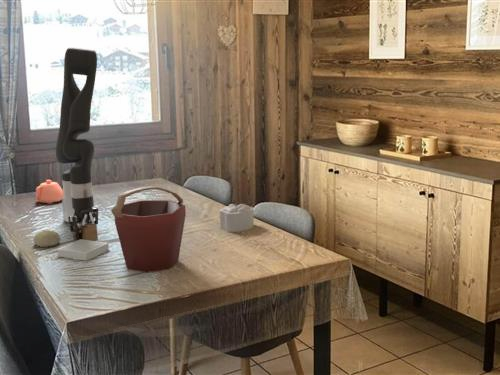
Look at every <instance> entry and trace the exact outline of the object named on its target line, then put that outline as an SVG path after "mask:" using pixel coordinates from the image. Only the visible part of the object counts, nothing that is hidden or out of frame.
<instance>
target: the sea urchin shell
mask: <svg viewBox="0 0 500 375" xmlns="http://www.w3.org/2000/svg"><path fill="white" fill-rule="evenodd" d="M32 239H33V244H34V245H36V246H37V247H39V246H40V247H39V248H49V247H55V246H56V245H58V244H59V243H60V241H61V237H60V235H59V233H58V232H57V231H56V230H55V231H54V230H50V229H45V230H42V231H39V232H38V233H36V234H35V235H34V236H33V238H32ZM48 246H49V247H48Z"/></svg>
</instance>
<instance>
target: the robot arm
mask: <svg viewBox="0 0 500 375" xmlns="http://www.w3.org/2000/svg"><path fill="white" fill-rule="evenodd" d="M63 62H64V63H63V88H62V89H63V90H62V96H61V97H62V98H61V103H60V115H59V116H60V117H59V118H60V119H59V127H58V133H57V134H58V135H57V140H56V146H55V157H56V160H57V162H58V163H59V164H74V165H73V166H72V167H70V168H68V169H67V170H65V171H64V172H62V174H61V180H62V182H61V183H62V190H63V193H64V197H63V198H62V200H61V203H62V215H63V221H65V222H66V223H69V230H70V232H71V233H73V232H75V233H76V241H77V240H80V239H83V238H82V228H83V227H84V224H85V223H87V224H88V223H90V224H97V225H98V224H99V208H95V203H94V191H93V184H92V174H91V173H92V171H91V170H92V162H93V158H94V153H95V146H94V143H93V141H92V140H90V139H88V138H87V139H85V138H84V139H81V138H78V137H79V136H80V135H83V134H87V133H88V132H90V130H91V129H90V127H91V111H92V110H91V109H92V108H91V107H92V100H93V96H94V90H95V84H96V83H95V82H96V76H97V68H98V55H97V52H96V51H95V50H93V49H89V48H88V49H86V48H81V47H68V48H66V50H65V54H64V59H63ZM74 75H79V76H80V75H81V76H86V78H85V83H84V86H82V89H80V88H79V86H78V84H77V83H76V80H75V77H74ZM78 226H80V227H79V229H78ZM74 228H75V229H74Z"/></svg>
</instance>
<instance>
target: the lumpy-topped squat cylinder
mask: <svg viewBox="0 0 500 375" xmlns="http://www.w3.org/2000/svg"><path fill="white" fill-rule="evenodd" d="M254 223H255V222H254V207H253V206H249V205H248V204H247V205H246V204H245V203H240V204H238V205H237V204H236V203H235V204H234V203H231V204H229V205H228V206H224V207H222V208H220V209H219V228H220V229H221V230H223V231H225V232H228V233H236V232H238V233H239V232H242V231H243V232H245V231H248V230H251V229H253V228H254V227H255V225H254Z"/></svg>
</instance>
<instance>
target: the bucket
mask: <svg viewBox="0 0 500 375" xmlns="http://www.w3.org/2000/svg"><path fill="white" fill-rule="evenodd" d="M151 190H153V191H154V190H159V191H163V192H166V193H167V194H168V193H169V194H171V195H172V196H173V197H174V198H175V199H176V201H173V200H171V199H142V200H140V199H139V200H135V201H134V200H133V201H132V202H127V203H125V201H126V198H127V197H129V196H132V195H135V194H137V193H139V192H140V193H141V192H144V191H151ZM110 212H111V214H112V215H113V216H114V224H115V228H116V232H117V235H118V239H119V243H120V247H121V251H122V255H123V259H124V263H125V266H126V270H131V271H135V272H142V273H153V272H159V271H166V270H171V268H172V267H174V266H175V265H176V264H177V263H178V262H179V257H180V252H181V247H182V240H183V233H184V229H185V221H186V214H187V213H186V205H185V204H184V199H183V198H182V197H181V196H180V195H179V194H178V193H177V192H173V191H171V190H168V189H166V188H163V187H158V186H143V187H138V188H134V189H129V190H127V191H125V192H122V193H120V194H118V197H117V200H116V204H115V205H114V206H113V207H112V209H111V211H110Z"/></svg>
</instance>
